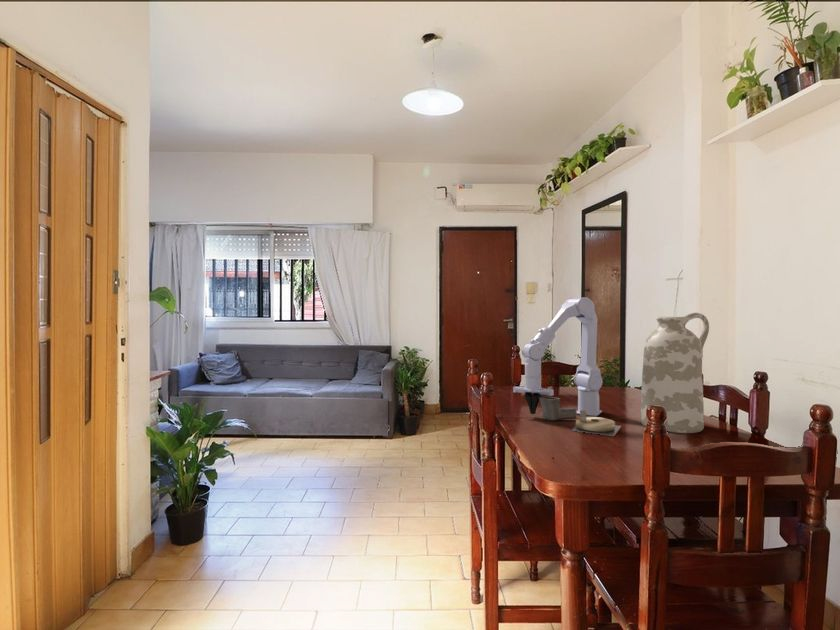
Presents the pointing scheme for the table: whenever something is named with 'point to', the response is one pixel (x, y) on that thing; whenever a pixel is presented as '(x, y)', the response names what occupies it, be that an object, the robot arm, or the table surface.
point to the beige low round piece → (594, 423)
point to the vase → (675, 373)
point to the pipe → (555, 409)
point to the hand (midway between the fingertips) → (533, 413)
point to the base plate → (607, 433)
